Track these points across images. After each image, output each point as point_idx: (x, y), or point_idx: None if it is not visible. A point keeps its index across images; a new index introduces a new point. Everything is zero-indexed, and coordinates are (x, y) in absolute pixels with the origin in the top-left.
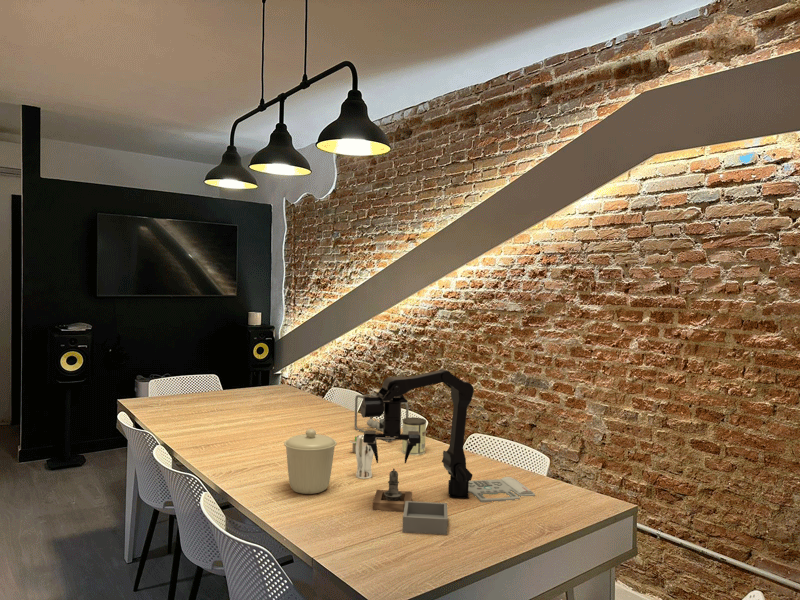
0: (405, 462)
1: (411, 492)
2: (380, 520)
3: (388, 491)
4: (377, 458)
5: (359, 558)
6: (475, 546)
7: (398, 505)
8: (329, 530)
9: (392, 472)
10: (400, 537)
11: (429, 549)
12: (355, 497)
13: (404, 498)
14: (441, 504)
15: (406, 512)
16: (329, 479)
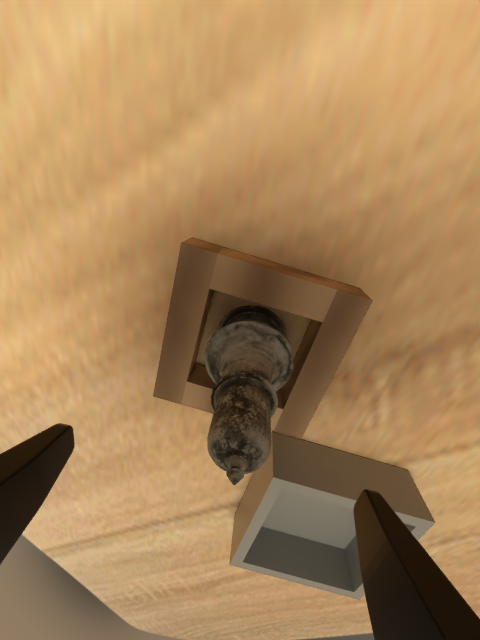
0: (361, 524)
1: (362, 313)
2: (184, 448)
3: (221, 374)
4: (28, 514)
5: (128, 571)
6: None
7: None
8: None
9: (223, 469)
10: (223, 531)
11: (274, 578)
12: (90, 228)
13: (297, 379)
14: (406, 521)
15: (248, 547)
16: None
